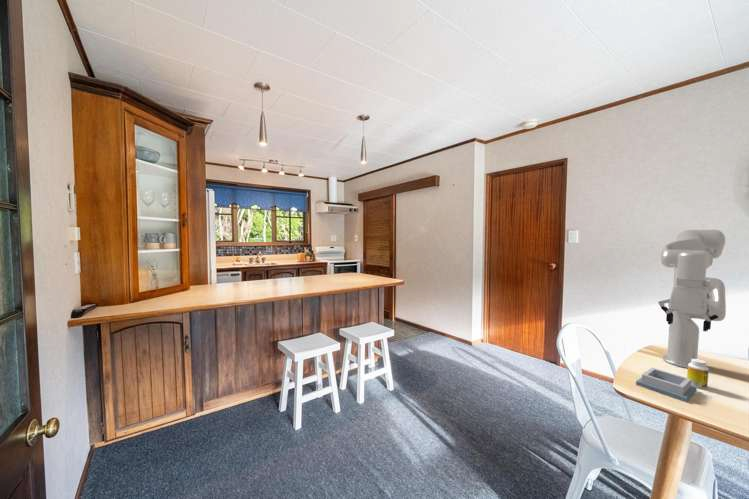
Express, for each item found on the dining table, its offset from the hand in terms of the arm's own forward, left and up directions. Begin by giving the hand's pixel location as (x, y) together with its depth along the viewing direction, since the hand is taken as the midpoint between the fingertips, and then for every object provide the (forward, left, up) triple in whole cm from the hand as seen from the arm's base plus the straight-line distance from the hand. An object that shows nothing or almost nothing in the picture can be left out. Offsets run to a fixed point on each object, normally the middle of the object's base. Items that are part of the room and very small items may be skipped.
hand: (687, 327), depth 113 cm
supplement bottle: (-6, +3, -24) cm, 25 cm away
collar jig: (+7, -3, -24) cm, 25 cm away
